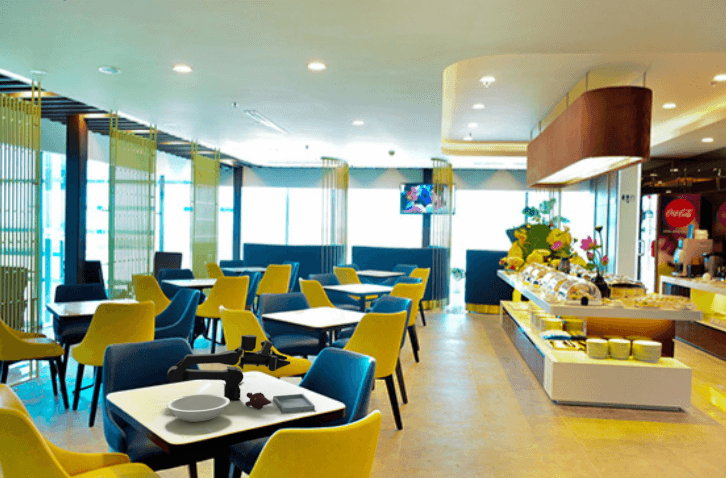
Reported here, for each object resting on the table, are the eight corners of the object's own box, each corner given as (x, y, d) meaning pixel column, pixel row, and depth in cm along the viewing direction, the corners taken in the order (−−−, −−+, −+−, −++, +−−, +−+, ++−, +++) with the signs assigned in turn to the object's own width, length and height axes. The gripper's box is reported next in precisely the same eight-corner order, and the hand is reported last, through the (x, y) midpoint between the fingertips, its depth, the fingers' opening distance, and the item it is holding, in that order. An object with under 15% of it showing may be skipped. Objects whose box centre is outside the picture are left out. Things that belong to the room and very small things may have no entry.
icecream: (278, 394, 241) (253, 391, 249) (265, 393, 235) (241, 390, 244) (276, 411, 239) (251, 407, 248) (263, 410, 233) (238, 407, 242)
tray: (282, 413, 235) (282, 408, 235) (273, 400, 253) (273, 396, 253) (314, 410, 240) (314, 405, 240) (302, 398, 258) (302, 393, 258)
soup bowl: (214, 406, 243) (214, 391, 243) (240, 421, 224) (240, 404, 224) (157, 417, 228) (158, 400, 228) (180, 433, 209) (180, 415, 209)
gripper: (258, 345, 248) (294, 347, 253) (254, 336, 266) (287, 338, 270) (255, 370, 248) (291, 372, 253) (251, 360, 266) (284, 362, 270)
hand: (288, 360), depth 261 cm, fingers open, 9 cm apart
